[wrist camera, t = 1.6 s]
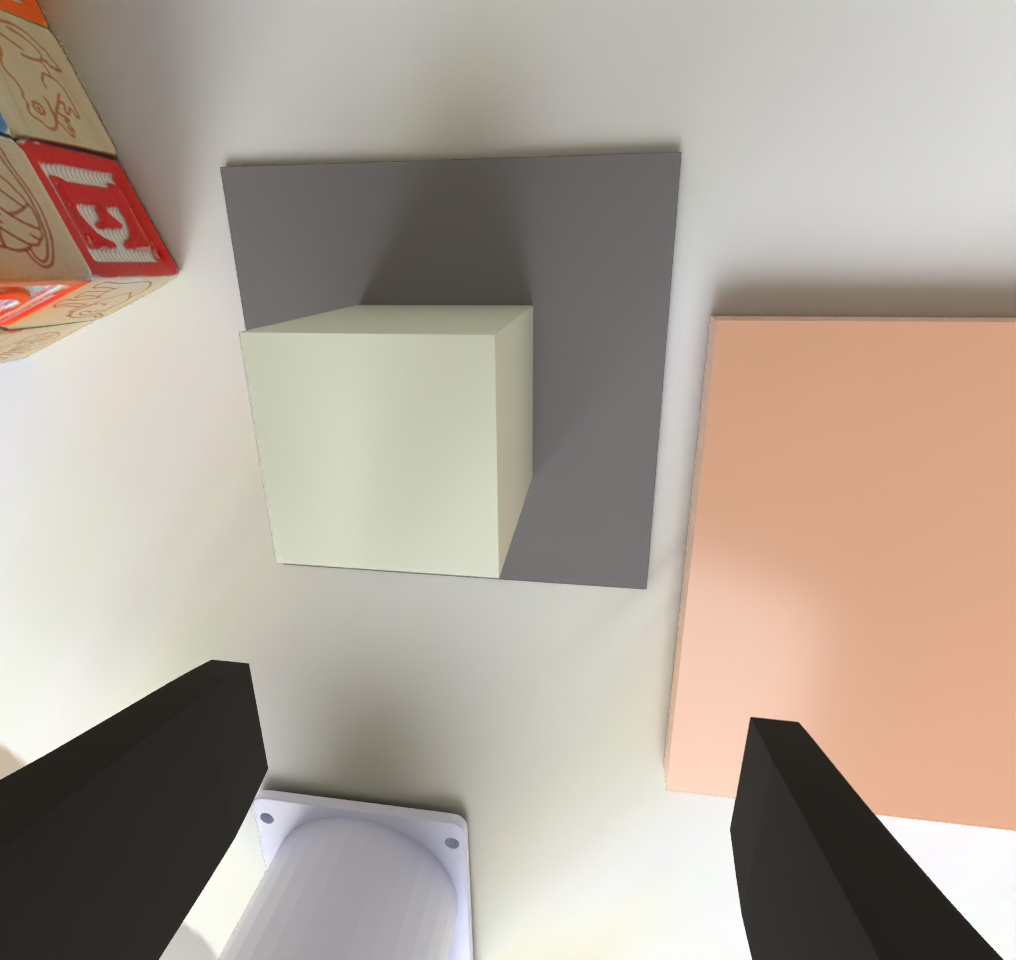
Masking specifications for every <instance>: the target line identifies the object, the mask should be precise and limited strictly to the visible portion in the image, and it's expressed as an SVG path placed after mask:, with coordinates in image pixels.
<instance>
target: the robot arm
mask: <svg viewBox="0 0 1016 960" xmlns="http://www.w3.org/2000/svg"><path fill="white" fill-rule="evenodd" d="M267 770H268V765H267V760H266V754H265V749H264V743H263V738H262V732H261V727H260V721H259V716H258V711H257V705H256V700H255V694H254V689H253V683H252V678H251V672H250V667H249V664H248V663H238V662H229V661H219V660H210V661H208V662H206V663H204V664H202V665H201V666H199V667H197V668H195V669H193V670H191V671H189V672H187V673H186V674H184V675H182V676H180V677H178V678H177V679H175V680H173V681H171V682H170V683H168V684H166V685H165V686H163V687H161V688H159V689H158V690H156V691H154V692H152V693H151V694H149V695H147V696H146V697H144V698H142V699H141V700H139V701H137V702H135V703H134V704H132V705H130V706H129V707H127V708H125V709H124V710H122V711H120V712H119V713H117V714H115V715H113V716H112V717H110V718H108V719H107V720H105V721H103V722H101V723H100V724H98V725H96V726H95V727H93V728H91V729H89V730H88V731H86V732H84V733H83V734H81V735H79V736H77V737H76V738H74V739H72V740H71V741H69V742H67V743H65V744H64V745H62V746H60V747H59V748H57V749H55V750H53V751H52V752H50V753H48V754H46V755H45V756H43V757H41V758H39V759H37V760H36V761H34V762H32V763H30V764H28V765H26V766H25V767H23V768H21V769H19V770H17V771H16V772H14V773H12V774H10V775H8V776H6V777H5V778H3V779H1V780H0V960H159V958H160V957H161V955H162V954H163V952H164V950H165V949H166V947H167V946H168V944H169V942H170V941H171V939H172V938H173V936H174V935H175V933H176V932H177V930H178V928H179V927H180V925H181V924H182V922H183V920H184V919H185V917H186V916H187V914H188V913H189V911H190V909H191V908H192V906H193V905H194V903H195V902H196V900H197V898H198V897H199V895H200V894H201V892H202V890H203V889H204V887H205V886H206V884H207V882H208V881H209V879H210V878H211V876H212V874H213V873H214V871H215V869H216V868H217V866H218V865H219V863H220V861H221V860H222V858H223V857H224V855H225V853H226V852H227V850H228V848H229V847H230V845H231V843H232V842H233V840H234V838H235V837H236V835H237V833H238V831H239V829H240V827H241V825H242V823H243V821H244V819H245V817H246V815H247V813H248V811H249V809H250V807H251V804H252V802H253V808H254V813H255V818H256V822H257V827H258V832H259V837H260V841H261V846H262V851H263V855H264V860H265V865H266V870H267V871H266V872H265V874H264V876H263V878H262V880H261V882H260V883H259V885H258V887H257V889H256V891H255V892H254V894H253V896H252V898H251V900H250V902H249V903H248V905H247V907H246V909H245V911H244V912H243V914H242V916H241V918H240V920H239V922H238V923H237V925H236V927H235V929H234V931H233V932H232V934H231V936H230V938H229V940H228V942H227V943H226V945H225V947H224V949H223V951H222V953H221V954H220V956H219V958H218V960H474V957H473V935H472V913H471V891H470V869H469V847H468V826H467V823H466V821H465V820H464V818H463V817H461V816H459V815H457V814H454V813H446V812H438V811H430V810H422V809H414V808H406V807H399V806H391V805H383V804H375V803H367V802H359V801H351V800H344V799H336V798H328V797H320V796H312V795H304V794H296V793H289V792H281V791H273V790H262V791H260V792H259V793H258V795H257V796H256V794H257V791H258V789H259V787H260V785H261V783H262V781H263V778H264V776H265V774H266V772H267ZM255 796H256V798H255ZM254 798H255V799H254ZM253 800H254V801H253ZM730 832H731V840H732V848H733V855H734V863H735V871H736V878H737V885H738V892H739V899H740V906H741V913H742V918H743V922H744V926H745V931H746V935H747V939H748V943H749V948H750V952H751V956H752V960H1003V959H1002V958H1001V957H1000V956H999V954H998V953H997V952H996V951H995V950H994V949H993V948H992V947H991V946H990V945H989V944H988V943H987V942H986V941H985V940H984V939H983V937H982V936H981V935H980V934H979V933H978V932H977V931H976V930H975V929H974V928H973V927H972V925H971V924H970V923H969V922H968V921H967V920H966V919H965V918H964V917H963V915H962V914H961V913H960V912H959V911H958V910H957V909H956V908H955V907H954V906H953V904H952V903H951V902H950V901H949V900H948V899H947V898H946V897H945V895H944V894H943V893H942V892H941V891H940V890H939V889H938V887H937V886H936V885H935V884H934V883H933V882H932V881H931V879H930V878H929V877H928V876H927V875H926V874H925V873H924V871H923V870H922V869H921V868H920V867H919V866H918V864H917V863H916V862H915V861H914V860H913V859H912V858H911V856H910V855H909V854H908V853H907V852H906V851H905V850H904V848H903V847H902V846H901V845H900V844H899V843H898V842H897V840H896V839H895V838H894V837H893V836H892V834H891V833H890V832H889V831H888V830H887V828H886V827H885V826H884V825H883V824H882V823H881V821H880V820H879V819H878V818H877V817H876V815H875V814H874V813H873V812H872V811H871V809H870V808H869V807H868V806H867V804H866V803H865V802H864V801H863V800H862V798H861V797H860V796H859V795H858V794H857V792H856V791H855V790H854V789H853V787H852V786H851V785H850V784H849V783H848V781H847V780H846V779H845V778H844V776H843V775H842V774H841V773H840V771H839V770H838V769H837V768H836V767H835V765H834V764H833V763H832V762H831V760H830V759H829V758H828V757H827V755H826V754H825V753H824V752H823V750H822V749H821V748H820V747H819V745H818V744H817V743H816V742H815V741H814V739H813V738H812V737H811V736H810V734H809V733H808V732H807V731H806V730H805V729H804V727H803V726H802V725H801V724H800V723H799V722H795V721H786V720H776V719H767V718H757V717H750V721H749V727H748V733H747V738H746V744H745V749H744V755H743V761H742V766H741V772H740V777H739V783H738V788H737V794H736V800H735V805H734V811H733V816H732V822H731V827H730Z"/></svg>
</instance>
